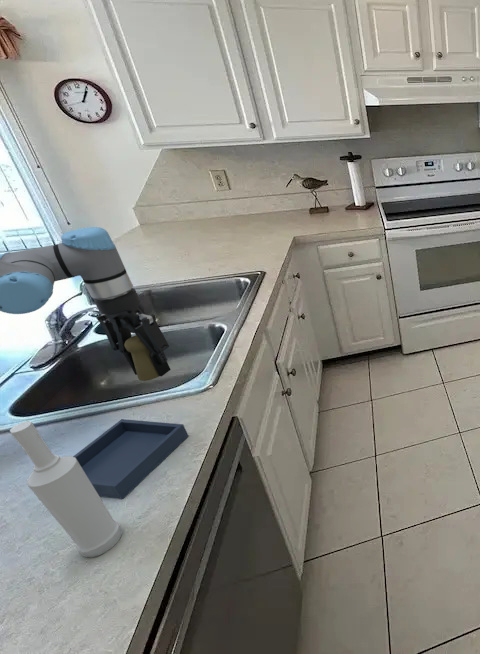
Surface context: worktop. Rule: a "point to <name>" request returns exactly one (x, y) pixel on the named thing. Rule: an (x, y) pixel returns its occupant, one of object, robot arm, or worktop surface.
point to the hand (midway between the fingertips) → (153, 372)
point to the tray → (128, 454)
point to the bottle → (68, 494)
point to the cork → (141, 359)
